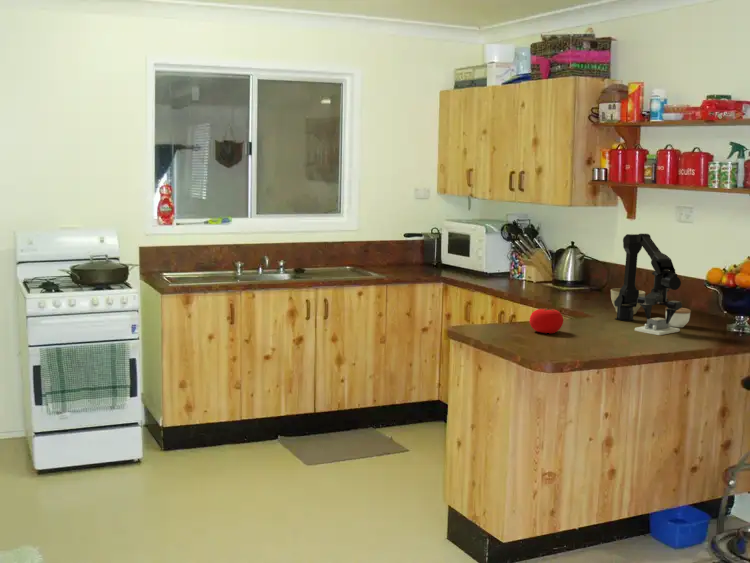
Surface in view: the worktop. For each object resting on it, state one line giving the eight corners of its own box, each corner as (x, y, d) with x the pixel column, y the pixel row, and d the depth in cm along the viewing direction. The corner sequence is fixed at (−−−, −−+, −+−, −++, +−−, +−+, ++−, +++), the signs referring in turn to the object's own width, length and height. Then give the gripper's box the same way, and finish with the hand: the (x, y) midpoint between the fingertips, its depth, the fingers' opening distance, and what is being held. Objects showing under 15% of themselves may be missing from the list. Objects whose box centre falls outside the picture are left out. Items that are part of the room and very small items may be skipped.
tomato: (536, 335, 375) (538, 310, 374) (523, 329, 388) (525, 305, 386) (568, 335, 379) (570, 310, 378) (554, 329, 392) (555, 305, 390)
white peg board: (634, 330, 395) (635, 323, 394) (655, 326, 405) (655, 319, 405) (659, 335, 386) (659, 327, 385) (679, 331, 396) (680, 324, 396)
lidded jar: (673, 328, 403) (674, 307, 402) (659, 324, 413) (661, 303, 412) (694, 328, 406) (695, 307, 404) (680, 323, 416) (681, 303, 415)
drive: (646, 328, 395) (647, 318, 394) (657, 326, 400) (658, 317, 399) (656, 330, 391) (657, 320, 390) (667, 328, 396) (668, 318, 395)
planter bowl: (636, 317, 429) (637, 294, 428) (603, 312, 439) (605, 290, 437) (648, 313, 442) (650, 291, 441) (616, 308, 452) (618, 287, 450)
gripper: (631, 284, 395) (628, 320, 397) (669, 290, 381) (666, 327, 383) (645, 283, 402) (642, 318, 404) (684, 288, 388) (681, 325, 390)
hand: (657, 322), depth 395 cm, fingers open, 9 cm apart
